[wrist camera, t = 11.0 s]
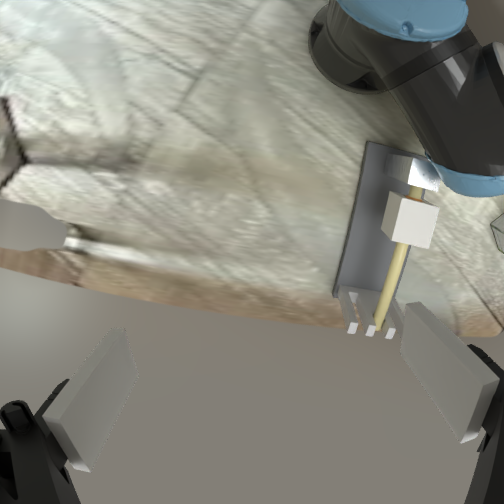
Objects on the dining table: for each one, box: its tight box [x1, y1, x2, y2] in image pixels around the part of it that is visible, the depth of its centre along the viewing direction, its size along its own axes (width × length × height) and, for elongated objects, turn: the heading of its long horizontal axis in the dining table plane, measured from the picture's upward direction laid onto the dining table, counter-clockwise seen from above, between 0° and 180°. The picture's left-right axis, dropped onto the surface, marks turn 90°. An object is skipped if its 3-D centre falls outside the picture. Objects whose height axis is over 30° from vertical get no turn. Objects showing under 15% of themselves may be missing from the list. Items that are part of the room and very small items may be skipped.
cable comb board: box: [332, 142, 441, 339], centre depth 40 cm, size 24×10×12 cm, turn 172°
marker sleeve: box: [381, 191, 440, 249], centre depth 36 cm, size 5×5×5 cm
